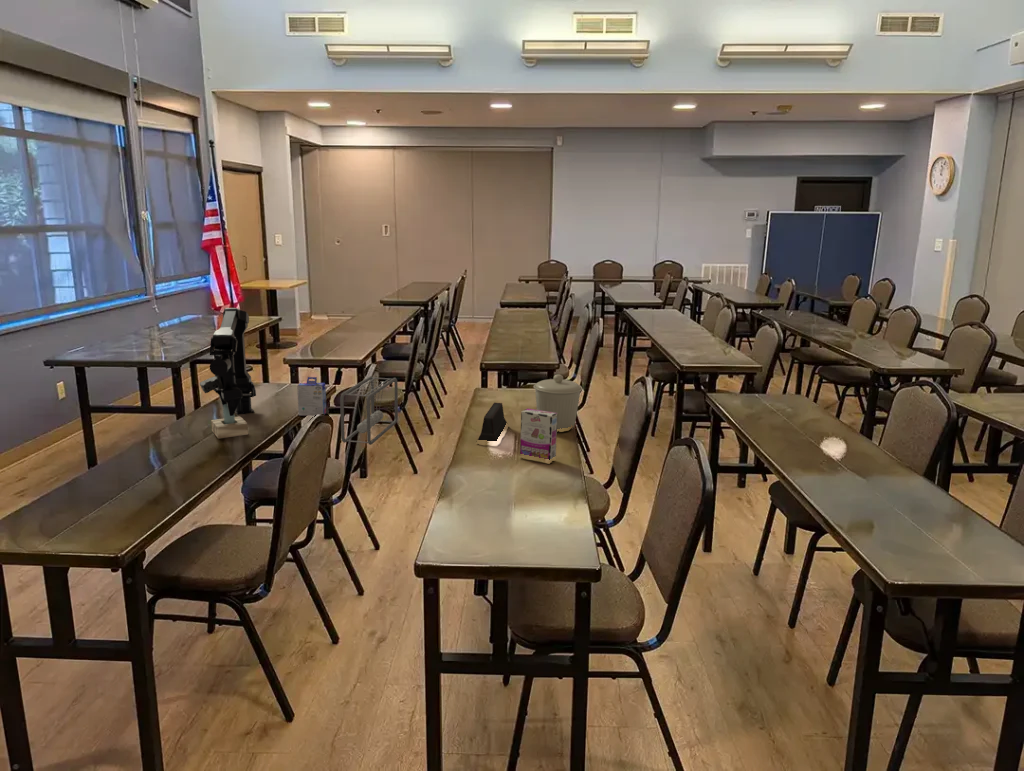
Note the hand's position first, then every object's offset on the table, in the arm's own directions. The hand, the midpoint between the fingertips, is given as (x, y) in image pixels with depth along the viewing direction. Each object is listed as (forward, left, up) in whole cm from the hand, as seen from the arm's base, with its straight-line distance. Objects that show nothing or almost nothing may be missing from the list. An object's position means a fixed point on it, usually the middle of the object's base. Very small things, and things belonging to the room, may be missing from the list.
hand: (228, 412), depth 251 cm
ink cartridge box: (-9, +33, -8) cm, 35 cm away
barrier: (+48, +80, -8) cm, 94 cm away
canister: (+53, +105, -8) cm, 118 cm away
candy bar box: (+77, +79, -8) cm, 111 cm away
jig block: (0, 0, -7) cm, 7 cm away
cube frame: (+23, +44, -8) cm, 50 cm away
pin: (0, 0, -6) cm, 6 cm away
